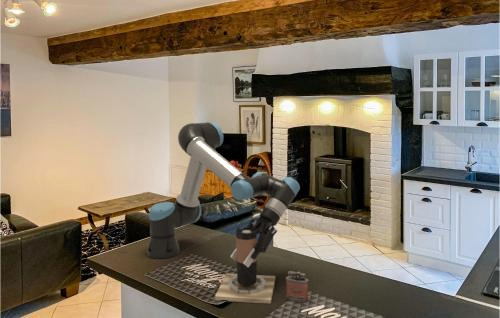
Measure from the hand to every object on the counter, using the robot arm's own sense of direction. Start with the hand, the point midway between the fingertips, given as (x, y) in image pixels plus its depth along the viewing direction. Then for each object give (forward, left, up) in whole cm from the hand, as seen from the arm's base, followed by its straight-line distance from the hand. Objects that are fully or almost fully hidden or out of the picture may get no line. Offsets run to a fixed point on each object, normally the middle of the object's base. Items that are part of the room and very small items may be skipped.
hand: (239, 262), depth 148 cm
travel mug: (-2, +2, -9) cm, 9 cm away
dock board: (-2, +2, -12) cm, 12 cm away
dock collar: (-2, +2, -10) cm, 11 cm away
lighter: (+3, +21, -12) cm, 25 cm away
